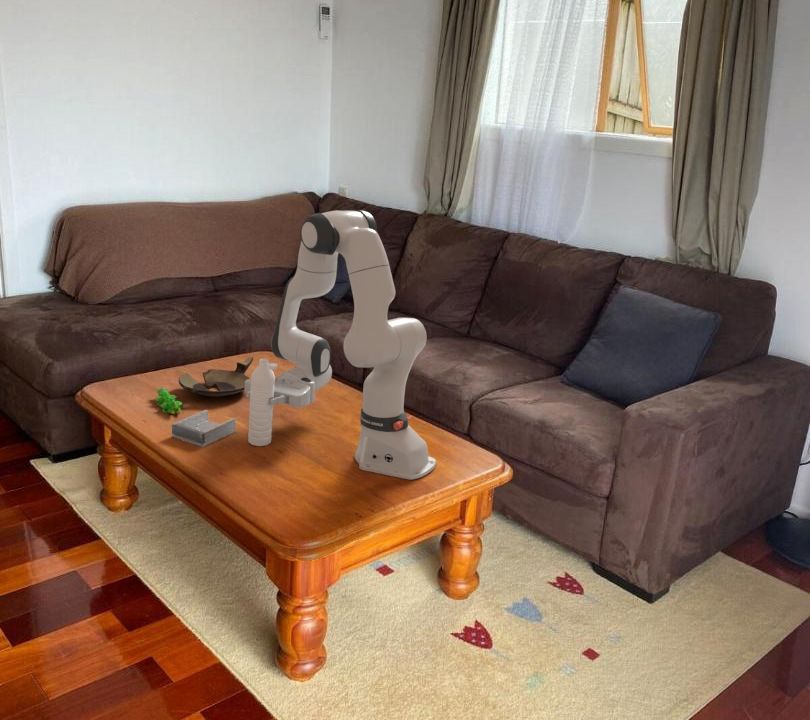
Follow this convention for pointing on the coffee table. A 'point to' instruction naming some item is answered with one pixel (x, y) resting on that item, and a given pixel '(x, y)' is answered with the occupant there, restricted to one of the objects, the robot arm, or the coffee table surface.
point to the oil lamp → (218, 381)
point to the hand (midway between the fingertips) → (259, 399)
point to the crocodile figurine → (168, 401)
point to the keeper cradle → (201, 429)
